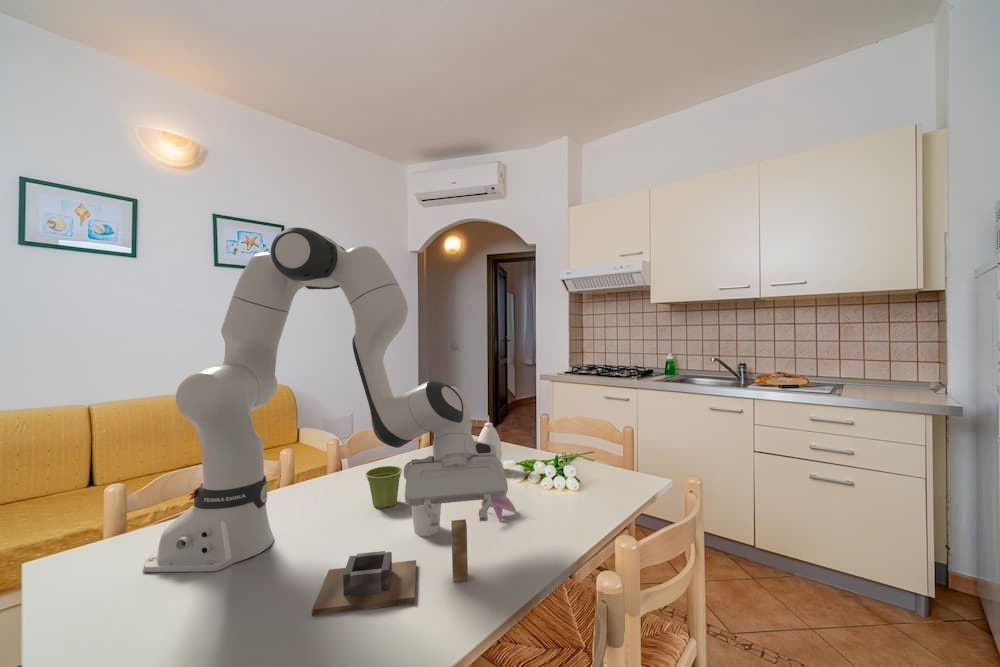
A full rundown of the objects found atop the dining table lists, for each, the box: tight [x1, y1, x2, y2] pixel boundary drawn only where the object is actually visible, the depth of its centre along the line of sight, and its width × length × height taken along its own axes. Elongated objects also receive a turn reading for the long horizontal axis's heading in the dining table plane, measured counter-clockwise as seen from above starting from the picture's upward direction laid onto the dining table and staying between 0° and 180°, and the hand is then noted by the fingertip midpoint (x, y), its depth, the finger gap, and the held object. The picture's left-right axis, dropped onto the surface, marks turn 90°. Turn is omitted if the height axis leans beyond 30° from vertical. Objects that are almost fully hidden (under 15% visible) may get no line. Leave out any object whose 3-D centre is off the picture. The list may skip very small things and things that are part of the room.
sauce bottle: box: [477, 415, 503, 461], centre depth 140 cm, size 8×8×18 cm
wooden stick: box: [450, 518, 469, 584], centre depth 79 cm, size 3×3×10 cm
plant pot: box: [365, 465, 403, 509], centre depth 114 cm, size 9×9×9 cm
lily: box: [481, 487, 517, 522], centre depth 107 cm, size 12×12×10 cm
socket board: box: [311, 550, 417, 617], centre depth 76 cm, size 16×12×4 cm
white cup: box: [410, 503, 442, 537], centre depth 99 cm, size 7×7×7 cm
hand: (459, 522), depth 82 cm, fingers open, 8 cm apart
